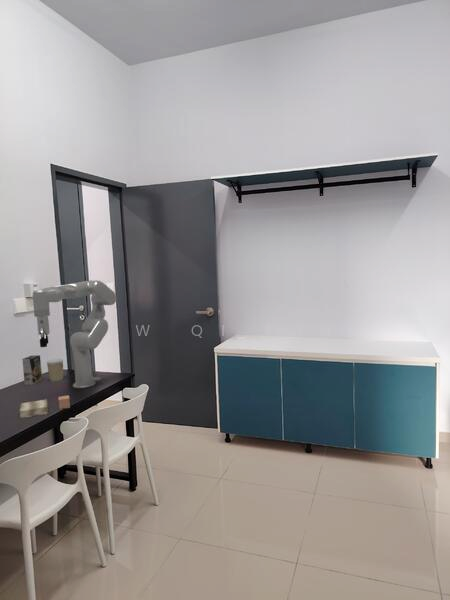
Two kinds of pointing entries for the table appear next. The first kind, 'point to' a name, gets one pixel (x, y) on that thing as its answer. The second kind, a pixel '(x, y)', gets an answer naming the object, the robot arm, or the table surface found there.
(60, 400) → the terracotta cube
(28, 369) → the coffee box
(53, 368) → the coffee cup
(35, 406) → the birch block
